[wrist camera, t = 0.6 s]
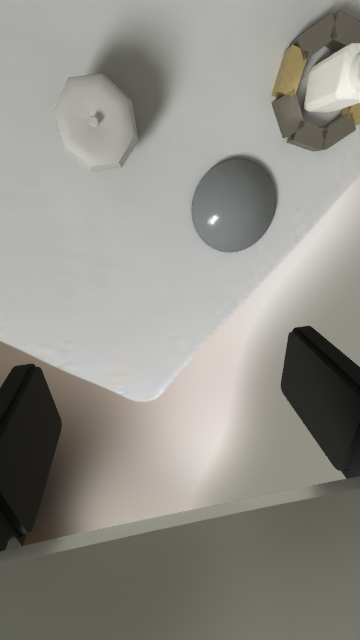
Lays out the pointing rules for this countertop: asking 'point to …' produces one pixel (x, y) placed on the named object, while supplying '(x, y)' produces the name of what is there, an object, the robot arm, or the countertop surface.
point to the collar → (287, 110)
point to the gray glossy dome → (233, 205)
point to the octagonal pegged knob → (95, 122)
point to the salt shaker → (334, 81)
